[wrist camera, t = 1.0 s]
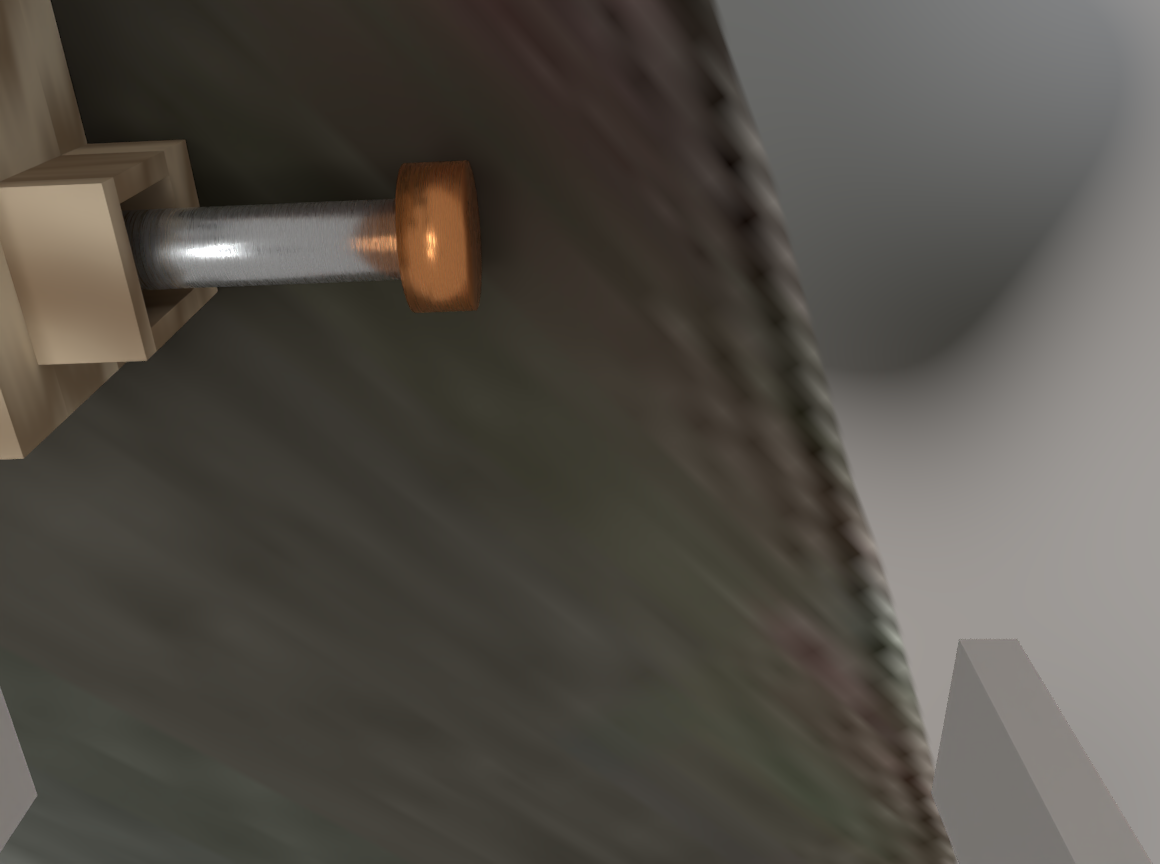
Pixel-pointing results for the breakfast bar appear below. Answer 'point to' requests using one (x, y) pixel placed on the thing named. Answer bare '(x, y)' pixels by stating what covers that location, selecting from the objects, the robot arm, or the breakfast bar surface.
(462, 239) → the pin
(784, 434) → the breakfast bar surface
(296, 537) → the breakfast bar surface
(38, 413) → the block
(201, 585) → the breakfast bar surface
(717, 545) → the breakfast bar surface
